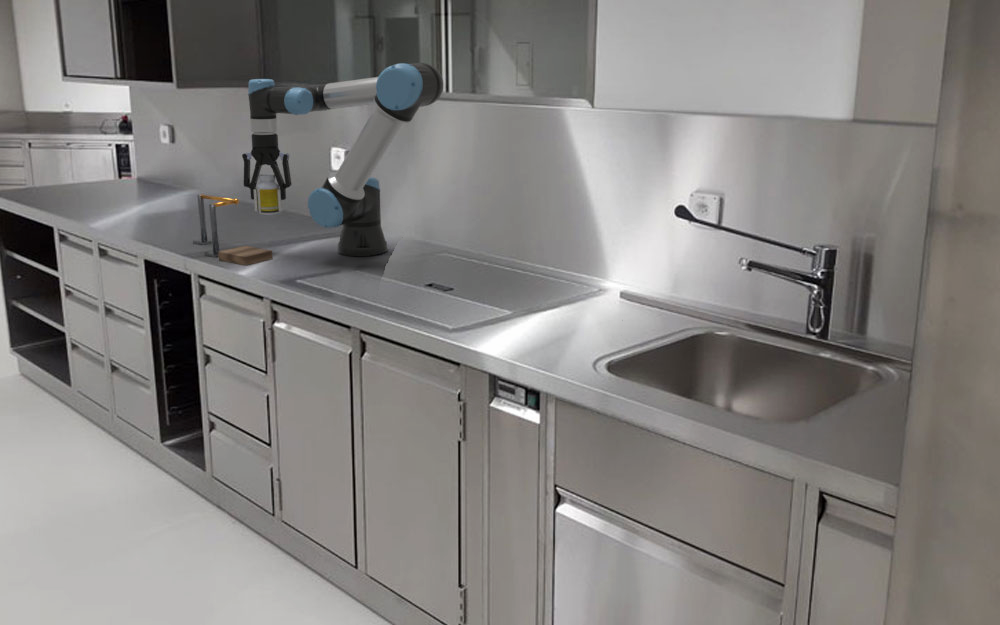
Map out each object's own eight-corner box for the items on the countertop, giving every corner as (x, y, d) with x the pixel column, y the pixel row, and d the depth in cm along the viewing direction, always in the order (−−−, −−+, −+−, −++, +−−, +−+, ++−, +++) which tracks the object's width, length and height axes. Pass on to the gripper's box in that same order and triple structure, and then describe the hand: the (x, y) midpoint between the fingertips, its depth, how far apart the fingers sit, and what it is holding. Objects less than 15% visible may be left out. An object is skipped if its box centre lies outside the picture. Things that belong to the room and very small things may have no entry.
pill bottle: (282, 214, 278) (279, 176, 275) (260, 216, 276) (257, 177, 272) (278, 210, 284) (276, 173, 280) (257, 212, 281) (254, 173, 278)
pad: (272, 258, 275) (271, 250, 275) (246, 265, 267) (245, 257, 267) (245, 253, 282) (244, 245, 281) (218, 259, 274) (218, 251, 273)
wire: (251, 248, 288) (247, 198, 283) (215, 257, 277) (210, 204, 272) (205, 240, 300) (201, 191, 295) (169, 248, 289) (164, 197, 284)
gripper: (300, 132, 276) (304, 208, 283) (235, 131, 277) (241, 207, 283) (294, 134, 269) (298, 213, 276) (227, 134, 269) (233, 212, 276)
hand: (269, 210), depth 279 cm, fingers closed on pill bottle, 6 cm apart
